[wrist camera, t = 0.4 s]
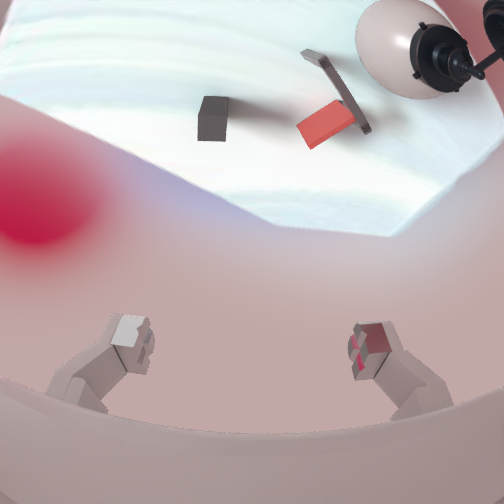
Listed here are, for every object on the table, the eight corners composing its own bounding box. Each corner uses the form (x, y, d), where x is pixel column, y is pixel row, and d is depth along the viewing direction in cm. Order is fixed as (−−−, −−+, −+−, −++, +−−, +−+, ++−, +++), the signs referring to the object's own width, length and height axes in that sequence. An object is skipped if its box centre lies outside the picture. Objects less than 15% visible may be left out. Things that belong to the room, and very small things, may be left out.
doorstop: (204, 96, 48) (198, 115, 40) (227, 96, 49) (227, 116, 40) (203, 117, 51) (197, 140, 43) (226, 117, 52) (225, 141, 44)
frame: (347, 107, 51) (372, 130, 42) (341, 111, 51) (365, 135, 43) (305, 47, 42) (325, 55, 33) (298, 51, 42) (317, 60, 34)
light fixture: (319, 28, 39) (425, 52, 16) (399, -23, 27) (532, -13, 5) (377, 100, 49) (480, 189, 26) (446, 50, 38) (564, 112, 15)
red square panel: (336, 99, 49) (354, 116, 42) (338, 103, 50) (357, 120, 43) (296, 125, 53) (307, 145, 46) (299, 128, 54) (310, 149, 47)
